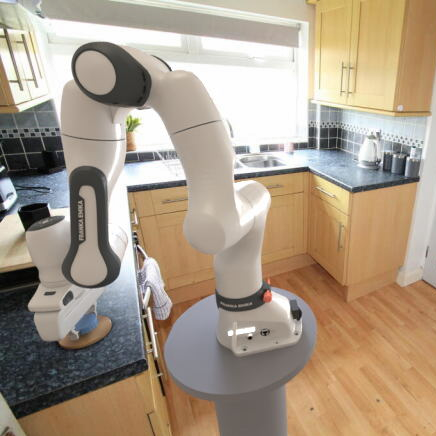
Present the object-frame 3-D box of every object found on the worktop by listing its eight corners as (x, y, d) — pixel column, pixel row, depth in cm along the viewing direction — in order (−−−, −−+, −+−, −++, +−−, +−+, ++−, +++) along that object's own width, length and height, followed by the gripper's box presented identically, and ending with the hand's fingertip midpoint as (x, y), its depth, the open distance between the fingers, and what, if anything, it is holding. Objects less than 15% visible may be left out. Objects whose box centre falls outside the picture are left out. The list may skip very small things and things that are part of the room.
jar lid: (64, 332, 79) (61, 326, 79) (88, 316, 84) (86, 310, 84) (79, 339, 77) (77, 333, 76) (104, 322, 82) (101, 317, 82)
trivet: (119, 316, 87) (118, 314, 87) (97, 347, 77) (97, 345, 77) (76, 319, 86) (75, 316, 86) (48, 350, 76) (47, 348, 76)
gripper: (79, 260, 84) (93, 302, 90) (21, 311, 66) (43, 360, 71) (104, 259, 85) (117, 300, 91) (54, 309, 67) (74, 358, 72)
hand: (84, 327), depth 81 cm, fingers closed on jar lid, 6 cm apart
